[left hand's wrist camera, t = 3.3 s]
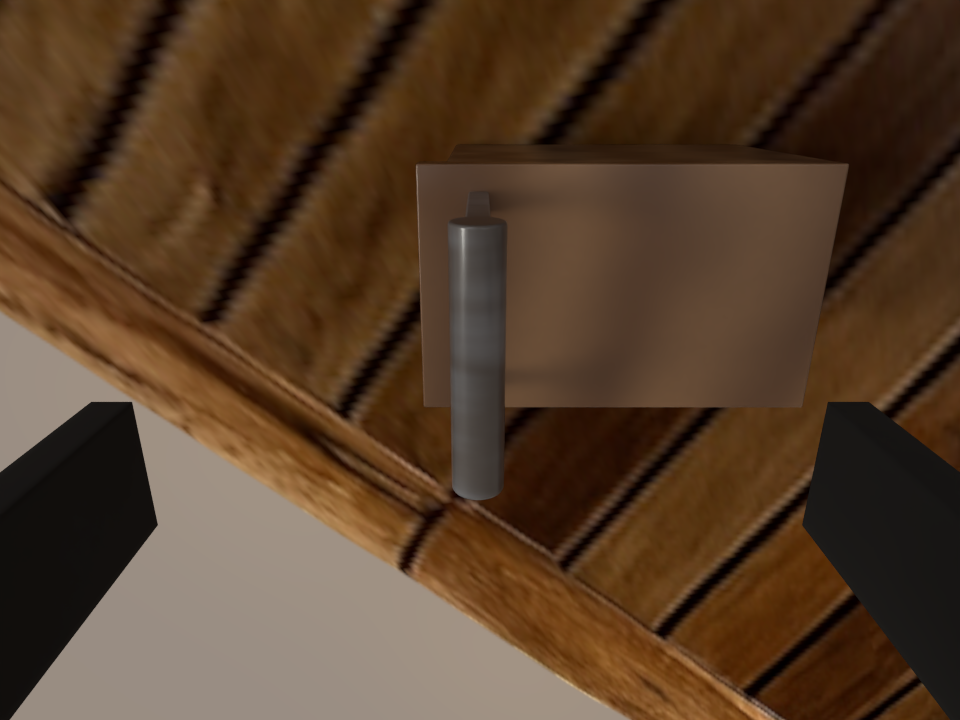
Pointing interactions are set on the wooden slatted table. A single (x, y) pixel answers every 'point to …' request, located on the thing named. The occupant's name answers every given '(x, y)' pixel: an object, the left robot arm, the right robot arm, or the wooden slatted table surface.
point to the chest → (621, 153)
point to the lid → (616, 289)
